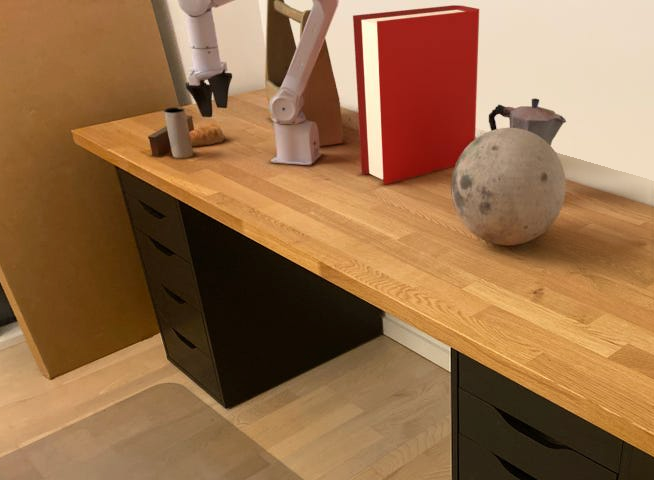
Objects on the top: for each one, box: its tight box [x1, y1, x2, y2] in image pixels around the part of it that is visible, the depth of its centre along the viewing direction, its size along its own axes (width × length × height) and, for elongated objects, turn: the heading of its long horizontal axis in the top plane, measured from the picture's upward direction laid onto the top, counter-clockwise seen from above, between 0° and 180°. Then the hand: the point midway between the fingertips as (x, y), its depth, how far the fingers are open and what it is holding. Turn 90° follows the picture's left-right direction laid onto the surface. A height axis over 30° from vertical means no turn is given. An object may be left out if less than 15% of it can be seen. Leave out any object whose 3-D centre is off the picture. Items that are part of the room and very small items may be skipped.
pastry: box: [189, 122, 225, 147], centre depth 174 cm, size 9×7×4 cm
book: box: [352, 4, 480, 186], centre depth 155 cm, size 27×8×32 cm, turn 131°
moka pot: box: [488, 98, 567, 147], centre depth 144 cm, size 10×15×20 cm, turn 78°
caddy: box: [264, 0, 344, 147], centre depth 177 cm, size 29×11×30 cm, turn 28°
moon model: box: [450, 127, 567, 246], centre depth 126 cm, size 20×20×20 cm
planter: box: [163, 106, 194, 159], centre depth 164 cm, size 4×4×10 cm
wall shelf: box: [147, 114, 195, 157], centre depth 172 cm, size 2×18×4 cm, turn 171°
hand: (214, 112), depth 160 cm, fingers open, 7 cm apart
